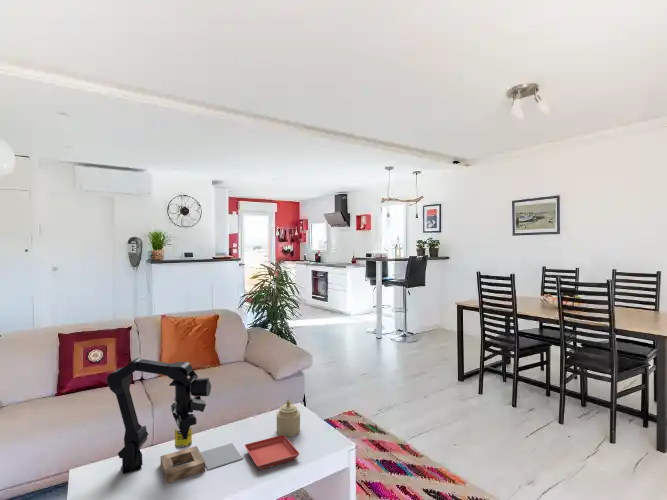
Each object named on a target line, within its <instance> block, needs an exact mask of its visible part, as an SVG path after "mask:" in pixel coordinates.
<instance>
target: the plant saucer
mask: <svg viewBox="0 0 667 500" xmlns="http://www.w3.org/2000/svg"><path fill="white" fill-rule="evenodd" d="M244 447H245V448H246V450H247V452H248V453H249V456H250V457H251V458H252V460H253V462H254V463H255V465H256V468H258V469H259V470H264V469H268V468H271V466H272V467H275V466H277V465H278V464H279V465H281V463H282V464H285V463H288V461H289V462H292V461H294V460H295V459H297V458H298V457H299V455H300V452H299V451H298V449H296V447H295V446H294V445H293V444H292V442H291V441H290V440H289V439H288V437H285V436H284V435H276V436H273V437H268V438H264V439H262V440H257V441H253V442H250V443H246V444H244ZM291 460H292V461H291Z"/></svg>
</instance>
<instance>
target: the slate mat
mask: <svg viewBox="0 0 667 500" xmlns="http://www.w3.org/2000/svg"><path fill="white" fill-rule="evenodd" d="M200 453H201V455H202V457H203V459H204V461H205V469H207V471H211V470H213V469H216V468H219V467H223V466H227V465H229V464H232V463H235V462H239V461H242V460H244V459H243V458H244V457H242V455H241V454H240V452H239V451H238V449H237V448H236V447H235V445H234V443H233V442H232V443H227V444H223V445H221V446H217V447H214V448H210V449H208V450H204V451H200Z"/></svg>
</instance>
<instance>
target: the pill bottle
mask: <svg viewBox="0 0 667 500" xmlns="http://www.w3.org/2000/svg"><path fill="white" fill-rule="evenodd" d="M177 423H178V420H177ZM177 423H176V425H175V426H174V448H175V449H176V450H178V451H181V450H185V449H188V448H191V446H192V443H193V440H192V439H193V438H192V437H193V434H192V433H193V429H192V428H193V425H192V426H190V428H189V432H188V435H187V438H186V439H183V436H182V434H181V432H180V430H179V427H178V425H177Z"/></svg>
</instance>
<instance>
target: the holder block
mask: <svg viewBox="0 0 667 500" xmlns="http://www.w3.org/2000/svg"><path fill="white" fill-rule="evenodd" d="M200 452H201V451H200V449H199V448H198V445H196V446H192V447H191V446H190V447H189V448H188V449H185V450H178V451H175V452H171V453H167V454H164V455H160V457H159V458H160V467H161V470H162V473H163V478H164V480H165V483H166V484H168V483H170V484H171V483H172V482H173V483H174V482H176V481H179V480H182V479H185V478H187V477H192V476H194V475H198V474H200V473H201V474H202V473H204V472H206V466H205V461H204V459H203V457H202V455H201V453H200ZM186 462H187V463H186ZM179 464H180V465H179Z"/></svg>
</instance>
